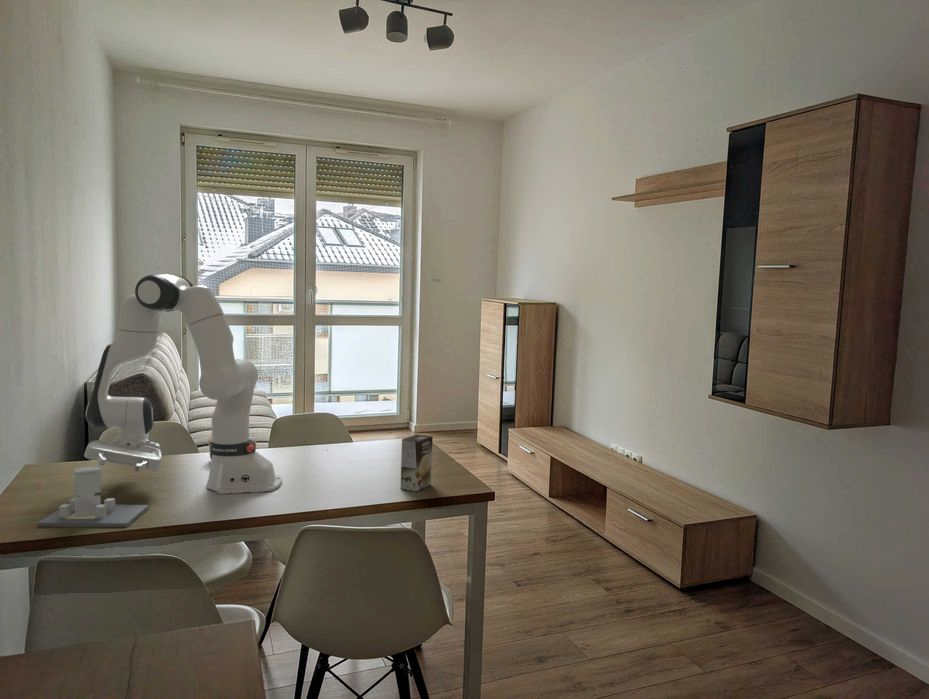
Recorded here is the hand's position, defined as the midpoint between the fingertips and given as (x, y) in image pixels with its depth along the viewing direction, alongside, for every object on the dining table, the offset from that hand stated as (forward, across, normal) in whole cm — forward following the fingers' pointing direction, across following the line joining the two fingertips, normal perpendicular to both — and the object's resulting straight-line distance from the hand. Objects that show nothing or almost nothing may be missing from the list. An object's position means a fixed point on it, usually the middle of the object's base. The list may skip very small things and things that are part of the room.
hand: (120, 465), depth 186 cm
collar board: (+13, -2, +10) cm, 16 cm away
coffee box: (+7, +85, -13) cm, 86 cm away
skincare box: (+12, -4, +10) cm, 16 cm away
